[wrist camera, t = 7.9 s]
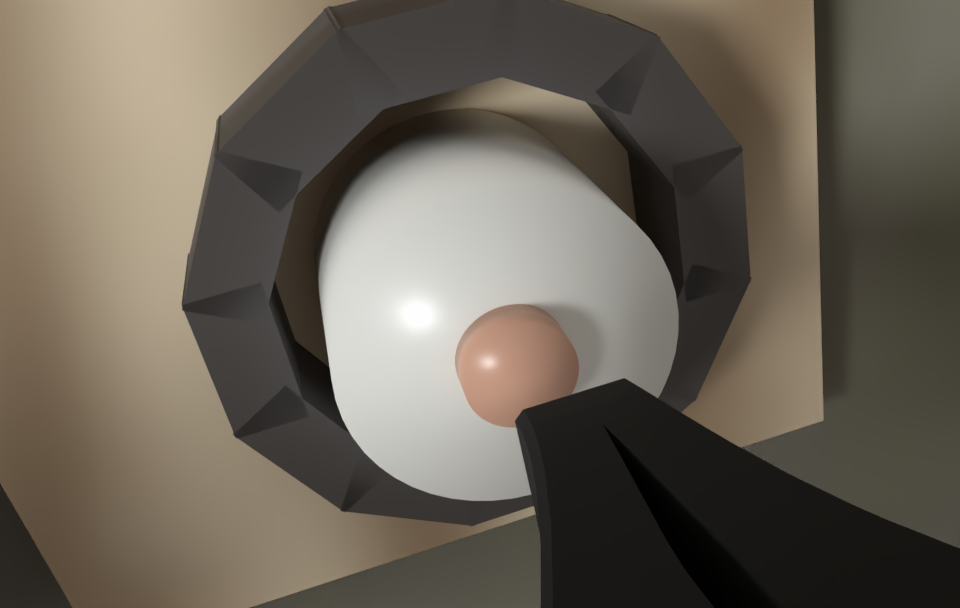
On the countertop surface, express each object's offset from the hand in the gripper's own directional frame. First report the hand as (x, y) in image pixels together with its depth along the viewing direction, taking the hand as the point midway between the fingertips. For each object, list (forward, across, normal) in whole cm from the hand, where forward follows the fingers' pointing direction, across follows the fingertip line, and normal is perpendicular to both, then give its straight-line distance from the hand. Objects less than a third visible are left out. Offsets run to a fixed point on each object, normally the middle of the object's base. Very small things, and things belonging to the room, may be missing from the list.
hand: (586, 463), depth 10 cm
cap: (+7, 0, 0) cm, 7 cm away
